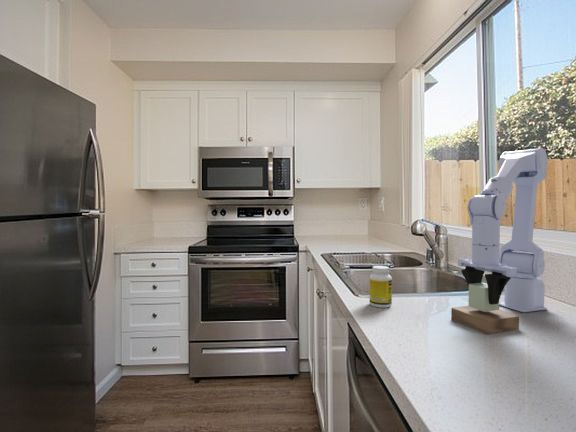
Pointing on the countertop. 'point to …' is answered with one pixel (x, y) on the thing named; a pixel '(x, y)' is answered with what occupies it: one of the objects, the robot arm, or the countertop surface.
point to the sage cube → (480, 297)
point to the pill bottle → (380, 287)
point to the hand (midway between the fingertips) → (484, 300)
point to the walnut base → (485, 319)
